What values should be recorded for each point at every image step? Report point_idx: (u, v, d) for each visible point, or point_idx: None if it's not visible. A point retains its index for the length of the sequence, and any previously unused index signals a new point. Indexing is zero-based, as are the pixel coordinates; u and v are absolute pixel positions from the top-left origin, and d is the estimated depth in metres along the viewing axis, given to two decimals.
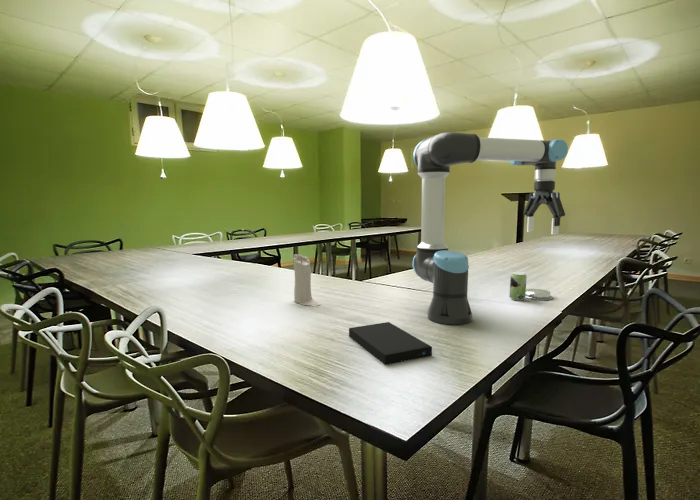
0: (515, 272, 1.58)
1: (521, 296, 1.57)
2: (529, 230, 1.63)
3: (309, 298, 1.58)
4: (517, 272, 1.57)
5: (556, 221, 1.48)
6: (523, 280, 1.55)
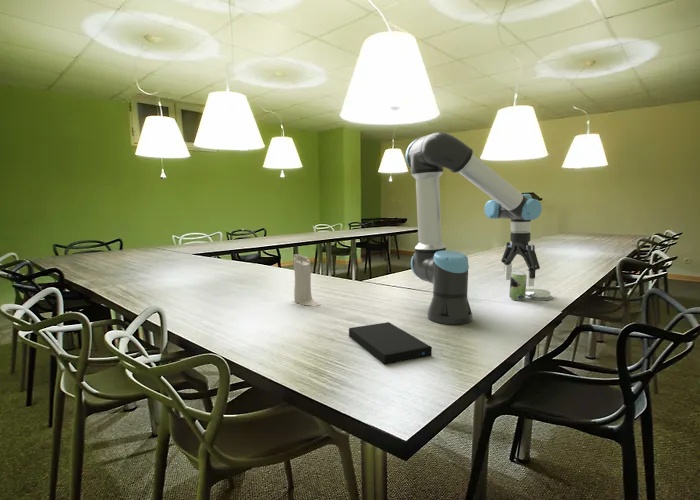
0: (515, 272, 1.58)
1: (521, 296, 1.57)
2: (507, 278, 1.64)
3: (309, 298, 1.58)
4: (517, 272, 1.57)
5: (531, 274, 1.50)
6: (523, 280, 1.55)
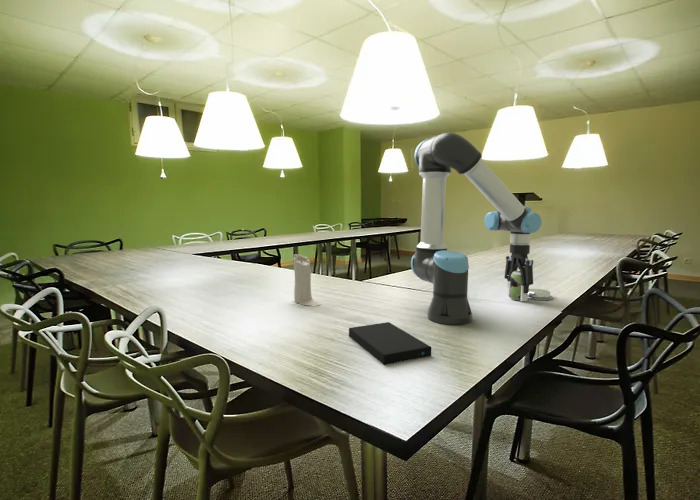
0: (515, 272, 1.58)
1: None
2: None
3: (309, 298, 1.58)
4: (517, 272, 1.57)
5: (525, 289, 1.54)
6: None
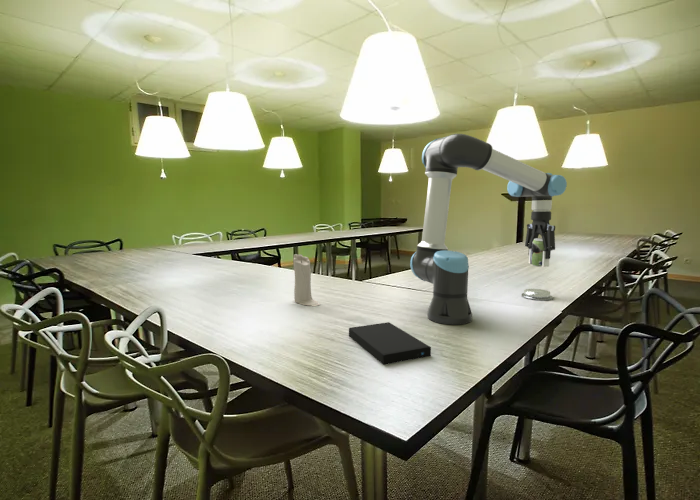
0: (536, 239, 1.60)
1: None
2: None
3: (309, 298, 1.58)
4: (539, 239, 1.60)
5: (547, 254, 1.56)
6: None
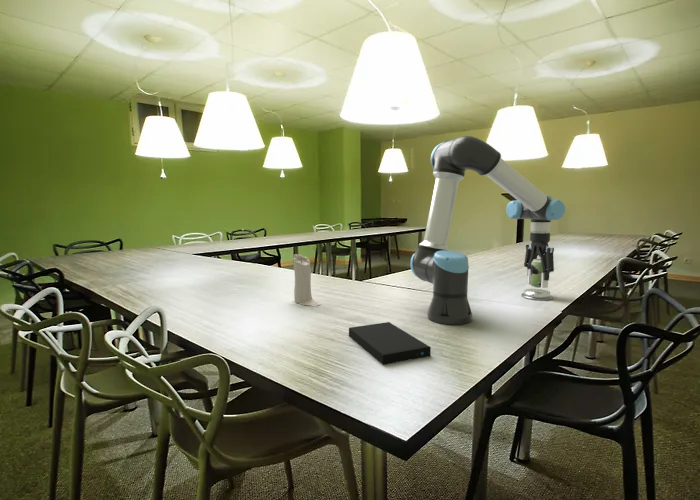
0: (535, 260, 1.61)
1: None
2: None
3: (309, 298, 1.58)
4: (538, 260, 1.61)
5: (545, 276, 1.57)
6: None
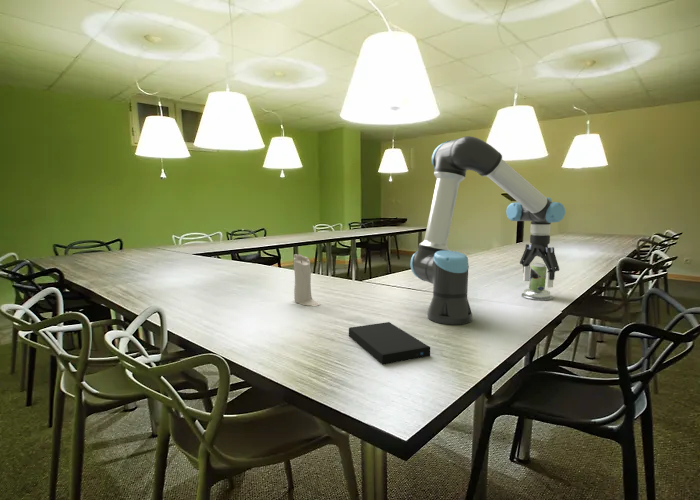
0: (535, 264, 1.62)
1: (541, 288, 1.61)
2: (525, 279, 1.69)
3: (309, 298, 1.58)
4: (537, 264, 1.61)
5: (551, 275, 1.54)
6: (544, 272, 1.59)
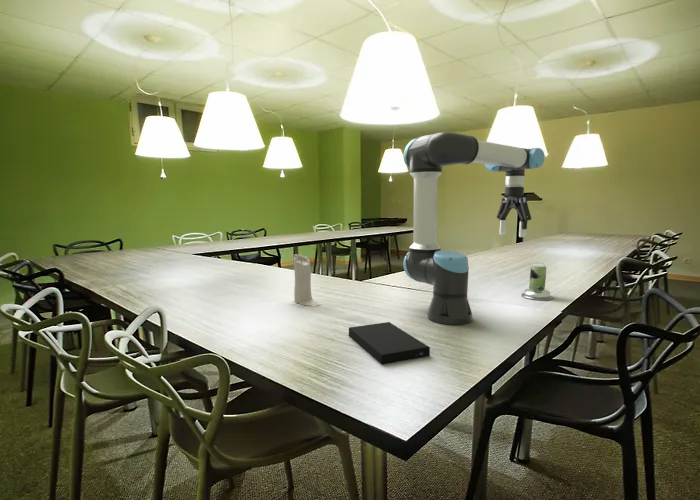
0: (535, 264, 1.62)
1: (541, 288, 1.61)
2: (501, 233, 1.72)
3: (309, 298, 1.58)
4: (537, 264, 1.61)
5: (523, 224, 1.58)
6: (544, 272, 1.59)
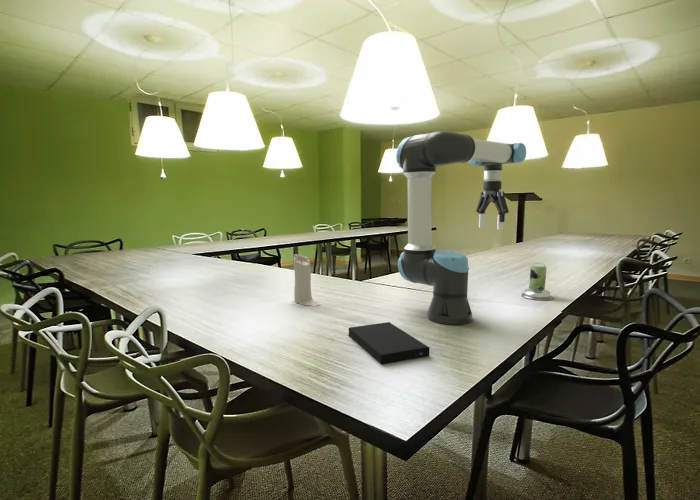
0: (535, 264, 1.62)
1: (541, 288, 1.61)
2: (481, 226, 1.77)
3: (309, 298, 1.58)
4: (537, 264, 1.61)
5: (501, 217, 1.63)
6: (544, 272, 1.59)
